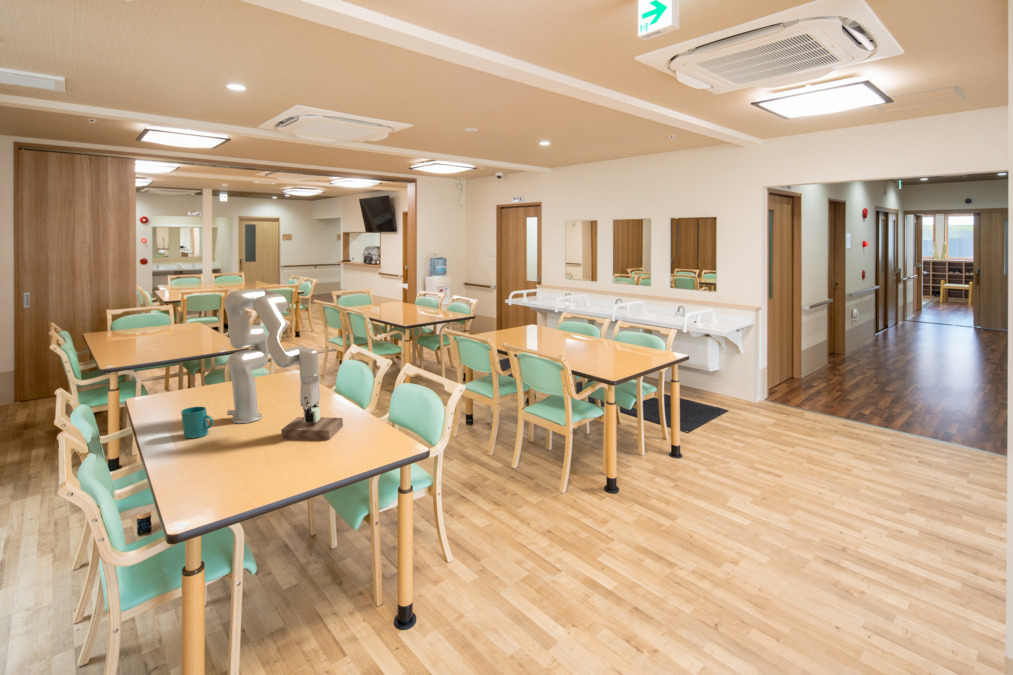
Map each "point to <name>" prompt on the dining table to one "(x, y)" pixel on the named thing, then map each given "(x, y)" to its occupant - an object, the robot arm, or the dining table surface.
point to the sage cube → (314, 414)
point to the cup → (195, 422)
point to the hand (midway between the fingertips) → (312, 419)
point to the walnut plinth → (312, 429)
